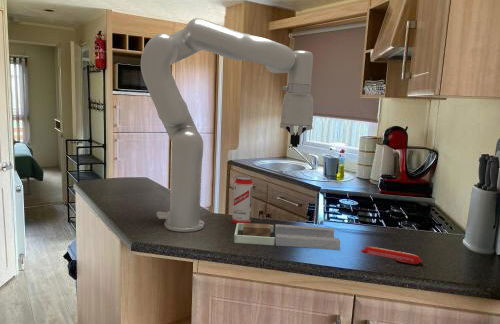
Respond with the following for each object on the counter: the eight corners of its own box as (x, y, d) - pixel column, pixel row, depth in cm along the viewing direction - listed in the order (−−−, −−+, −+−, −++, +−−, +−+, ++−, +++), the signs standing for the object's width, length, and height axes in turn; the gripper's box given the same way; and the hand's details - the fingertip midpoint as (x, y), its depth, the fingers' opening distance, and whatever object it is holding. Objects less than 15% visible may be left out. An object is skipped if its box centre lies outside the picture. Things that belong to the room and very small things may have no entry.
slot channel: (275, 248, 112) (276, 236, 112) (274, 234, 124) (275, 224, 123) (339, 253, 112) (340, 241, 111) (332, 238, 123) (333, 228, 123)
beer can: (248, 228, 129) (251, 180, 127) (229, 226, 130) (232, 178, 128) (252, 222, 135) (255, 177, 133) (234, 220, 136) (236, 175, 134)
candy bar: (421, 263, 108) (422, 253, 108) (421, 268, 105) (423, 257, 105) (361, 252, 114) (362, 242, 114) (360, 256, 111) (361, 246, 110)
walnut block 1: (242, 239, 116) (243, 226, 115) (243, 235, 120) (244, 222, 119) (256, 240, 116) (257, 227, 115) (256, 236, 120) (257, 223, 119)
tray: (233, 245, 112) (234, 235, 112) (236, 232, 124) (237, 222, 124) (273, 248, 112) (274, 238, 112) (272, 234, 124) (273, 225, 124)
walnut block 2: (256, 240, 116) (257, 227, 115) (256, 236, 120) (257, 223, 119) (269, 241, 116) (270, 228, 115) (269, 237, 120) (270, 224, 119)
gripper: (276, 88, 124) (272, 146, 127) (323, 91, 124) (318, 149, 126) (275, 89, 131) (271, 144, 134) (320, 92, 131) (315, 147, 134)
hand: (294, 146), depth 130 cm, fingers closed
